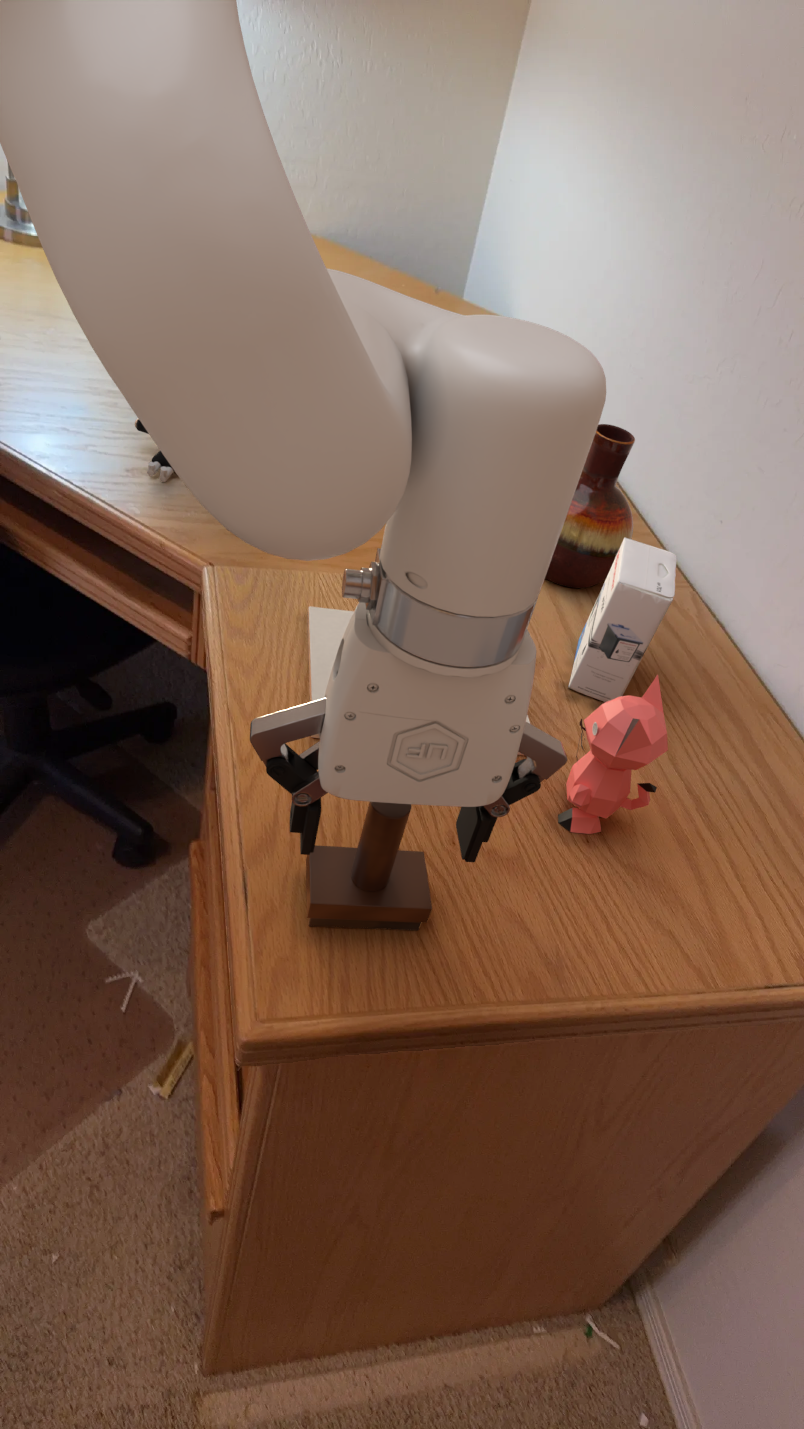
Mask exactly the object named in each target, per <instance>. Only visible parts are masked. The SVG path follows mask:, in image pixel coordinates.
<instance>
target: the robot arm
mask: <svg viewBox="0 0 804 1429" xmlns="http://www.w3.org/2000/svg"><path fill="white" fill-rule="evenodd" d="M239 16H240V15H239V8H238V4H237V0H0V146H1V149H2V151H3V154H4V156H5V158H6V161H7V163H8V165H9V169H10V171H11V173H12V175H13V177H14V179H15V182H16V184H17V187H18V189H19V192H20V195H21V197H22V200H23V203H24V205H25V207H26V210H27V213H28V215H29V218H30V220H31V224H32V225H33V228H34V230H35V232H36V236H37V238H38V240H39V243H40V245H41V248H42V250H43V252H44V254H45V257H46V259H47V261H48V264H49V266H50V268H51V271H52V272H53V275H54V277H55V280H56V282H57V284H58V287H59V288H60V290H61V292H62V294H63V296H64V298H65V300H66V302H67V305H68V306H69V308H70V310H71V312H72V315H73V316H74V318H75V320H76V321H77V324H78V326H79V327H80V329H81V330H82V333H83V334H84V336H85V338H86V339H87V342H88V343H89V345H90V347H91V348H92V350H93V351H94V353H95V355H96V356H97V358H98V359H99V361H100V363H101V365H102V366H103V367H104V369H105V371H106V372H107V374H108V376H109V377H110V378H111V380H112V381H113V383H114V385H115V386H116V387H117V389H118V390H119V391H120V393H121V394H122V396H123V397H124V399H125V400H126V402H127V403H128V406H129V407H130V409H131V410H132V411H133V413H134V415H135V416H136V417H137V419H139V420H140V421H141V423H142V424H143V426H144V427H145V429H146V430H147V432H148V433H149V434H148V435H149V436H150V437H151V439H152V441H153V442H154V443H155V445H156V447H158V449H159V451H161V452H162V454H163V455H164V457H165V458H166V459H167V461H168V462H169V464H170V465H171V467H172V468H173V469H174V472H175V474H176V475H177V476H178V478H179V480H181V482H182V483H183V484H184V486H185V488H187V490H188V491H189V492H190V494H191V495H192V496H193V497H194V498H195V499H196V500H197V502H198V503H199V504H200V505H201V506H202V507H203V509H204V510H205V511H206V512H208V513H209V515H211V517H213V518H214V519H215V520H216V521H217V522H218V523H219V524H220V525H221V526H222V527H223V528H224V529H226V530H227V531H228V532H230V533H231V534H232V535H234V536H236V537H237V538H238V539H240V540H241V541H242V542H244V543H245V544H247V545H249V546H251V547H253V548H255V549H257V550H260V551H261V552H264V553H266V554H269V555H272V556H275V557H279V558H283V559H284V560H285V559H286V560H293V561H304V562H310V561H320V560H328V559H329V560H330V559H332V558H335V557H339V556H342V555H346V554H348V553H350V552H352V551H353V550H355V549H357V548H359V547H361V546H363V545H364V544H367V542H369V541H371V539H372V538H373V537H375V536H376V535H377V534H378V533H379V532H380V531H381V530H382V529H383V528H384V531H383V535H382V542H381V545H380V548H379V547H378V548H377V549H376V553H375V554H376V555H375V558H374V561H371V562H370V564H369V566H368V567H360V569H355V568H354V569H353V568H344V569H343V570H344V571H343V576H342V581H341V598H343V599H351V600H352V599H353V600H357V605H356V607H355V609H354V610H353V611H354V613H353V615H352V617H351V619H350V621H349V623H348V626H347V628H346V630H345V633H344V635H343V638H342V640H341V643H340V646H339V649H338V651H337V655H336V658H335V661H334V664H333V667H332V670H331V674H330V677H329V681H328V684H327V688H326V691H325V695H324V698H323V699H320V700H316V701H313V702H310V701H309V702H307V703H302V704H299V705H296V706H292V707H289V708H286V709H282V710H279V711H275V712H272V713H269V714H265V715H262V716H258V717H255V718H253V719H252V720H251V721H250V725H249V726H250V727H249V728H250V729H249V731H250V732H249V742H250V744H251V746H252V747H253V749H254V751H255V753H256V755H257V756H258V758H259V759H260V761H261V762H262V763H263V765H264V766H265V772H266V774H267V775H268V776H269V777H270V778H271V780H274V781H275V783H277V784H278V785H279V786H280V787H282V788H283V789H284V790H286V792H288V793H289V794H290V795H291V805H290V810H289V833H290V834H293V833H294V834H299V846H300V847H299V849H300V851H299V852H300V855H303V856H307V855H310V853H313V852H314V847H315V845H316V841H317V837H318V832H319V825H320V821H321V815H322V798H323V797H324V796H326V795H327V794H329V795H330V796H333V797H336V798H340V799H344V800H350V801H357V802H358V801H359V802H368V803H369V802H383V803H398V804H411V805H414V806H415V805H417V806H433V807H434V806H436V807H458V808H460V809H459V813H458V815H457V818H456V821H455V828H456V834H457V839H458V844H459V845H458V846H459V850H460V855H461V859H462V860H464V862H465V863H476V861H477V858H478V855H479V853H480V850H481V848H482V845H483V843H488V842H489V840H490V837H491V835H492V833H493V830H494V828H495V825H496V823H497V820H498V819H499V818H503V817H505V816H507V815H509V814H510V811H511V805H513V804H515V803H517V802H519V801H521V800H523V799H525V798H527V797H529V796H531V795H532V794H535V793H537V792H538V791H539V790H540V789H541V787H542V782H544V781H547V780H548V779H549V778H551V777H552V776H553V775H555V774H556V773H557V772H558V771H559V770H560V769H561V768H562V767H564V766H565V765H566V764H567V763H568V757H567V754H566V750H565V748H564V745H563V742H562V741H561V740H559V739H558V738H556V737H555V736H552V735H550V734H549V733H547V732H545V731H543V730H542V729H539V728H538V727H536V726H535V725H533V724H531V723H530V724H529V723H528V722H526V718H527V714H528V713H529V706H530V701H531V697H532V692H533V687H534V679H535V673H536V663H537V646H536V644H535V642H534V639H533V637H532V636H531V634H530V632H529V629H528V628H529V625H530V622H531V619H532V616H533V614H534V611H535V608H536V605H537V602H538V599H539V596H540V593H541V590H542V587H543V585H544V582H545V580H546V578H545V576H546V574H547V571H548V568H549V565H550V562H551V559H552V556H553V553H554V551H555V548H556V545H557V542H558V539H559V536H560V533H561V531H562V528H563V525H564V522H565V519H566V516H567V513H568V510H569V508H570V505H571V502H572V499H573V496H574V493H575V490H576V487H577V485H578V482H579V479H580V476H581V473H582V470H583V467H584V464H585V462H586V459H587V456H588V453H589V450H590V447H591V444H592V441H593V439H594V436H595V433H596V430H597V427H598V425H599V424H600V421H601V417H602V414H603V411H604V407H605V404H606V398H607V377H606V374H605V371H604V368H603V366H602V364H601V363H600V361H599V360H598V358H597V356H595V354H594V353H593V352H592V351H591V350H590V349H589V348H587V347H586V346H585V345H583V344H582V343H580V342H579V341H577V340H575V339H574V338H572V337H570V336H569V335H567V334H564V333H562V332H560V331H558V330H555V329H554V328H550V327H548V326H545V325H543V324H540V323H536V322H533V321H529V320H525V319H520V318H517V317H516V318H515V317H510V316H504V315H498V314H497V315H496V314H468V315H466V314H461V313H458V312H454V311H451V310H448V309H445V308H442V307H440V306H437V305H434V304H431V303H429V302H425V301H422V300H420V299H417V298H414V297H412V296H409V295H406V294H404V293H401V292H399V291H397V290H393V289H391V288H389V287H386V286H384V285H382V284H378V283H376V282H374V281H371V280H368V279H366V278H363V277H360V276H358V275H354V274H351V273H348V272H345V271H341V270H338V269H332V268H327V267H326V264H325V262H324V259H323V258H322V256H321V254H320V251H319V249H318V247H317V245H316V242H315V240H314V238H313V235H312V233H311V231H310V229H309V227H308V225H307V222H306V219H305V217H304V215H303V212H302V211H301V207H300V205H299V203H298V200H297V198H296V196H295V193H294V192H293V189H292V186H291V183H290V181H289V178H288V176H287V173H286V171H285V168H284V166H283V163H282V161H281V158H280V155H279V152H278V149H277V147H276V144H275V141H274V139H273V135H272V132H271V130H270V127H269V125H268V124H269V123H268V121H267V118H266V116H265V113H264V109H263V107H262V104H261V100H260V97H259V94H258V91H257V87H256V84H255V80H254V78H253V74H252V69H251V66H250V62H249V58H248V53H247V50H246V47H245V42H244V36H243V32H242V27H241V22H240V17H239ZM316 734H319V737H320V738H319V741H318V742H316V743H315V744H313V745H312V746H309V748H307V749H306V750H304V751H302V752H301V753H300V754H298V753H297V752H296V751H295V750H294V749H293V748H292V747H291V746H289V745H288V743H292V742H294V741H298V740H302V739H305V738H308V737H311V736H312V735H316ZM518 752H520V753H522V754H523V755H522V756H525V757H526V758H523V759H520V760H518V761H517V758H518V755H517V754H518Z"/></svg>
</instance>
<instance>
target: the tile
mask: <svg viewBox="0 0 804 1429" xmlns="http://www.w3.org/2000/svg"><path fill="white" fill-rule="evenodd" d="M307 608H308V609H307V613H306V614H307V616H306V618H307V619H306V620H307V648H308V653H307V654H308V683H309V685H308V686H309V702H313V701H316V700H320V699H323V698H324V695H325V691H326V688H327V684H328V681H329V677H330V674H331V670H332V667H333V664H334V661H335V658H336V655H337V651H338V649H339V646H340V643H341V640H342V638H343V635H344V633H345V630H346V628H347V626H348V623H349V621H350V619H351V617H352V615H353V613H354V611H355V610H346V609H336V608H329V607H328V608H327V607H318V606H312V605H311V606H310V605H308V607H307ZM526 722H528V723H529V724H531V721H530V718H529V715H528V713H527V718H526ZM310 737H311V738H313V739H320V737H319V734H316V735H312V736H310ZM517 756H524V755H523V754H522V753H520V752H518V754H517Z"/></svg>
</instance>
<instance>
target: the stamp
mask: <svg viewBox="0 0 804 1429" xmlns="http://www.w3.org/2000/svg"><path fill="white" fill-rule="evenodd" d="M368 803H369V804H368V806H367V810H366V814H365V818H364V822H363V825H362V829H361V832H360V837H359V840H358V844H357V847H352V846H349V847H348V846H331V845H316V844H315V847H314V852H313V853H310V855H306V857H305V878H306V880H305V881H306V882H305V883H306V918H308V919H307V920H308V922H307V923H308V924H307V925H308V927H314V928H315V927H317V928H321V927H322V928H340V929H341V928H342V929H343V928H345V929H369V930H394V931H395V930H396V931H397V930H398V931H419V930H420V928H421V924H422V923H424V924H426V923H428V921H429V919H430V916H431V913H432V910H433V903H432V897H431V890H430V884H429V877H428V870H427V863H426V858H425V857H426V856H425V851H420V850H403V849H402V850H401V849H400V846H401V843H402V839H403V837H404V833H405V830H406V827H407V824H408V820H409V817H410V814H411V810H412V806H413V805H412V804H398V803H383V802H369V801H368Z"/></svg>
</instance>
